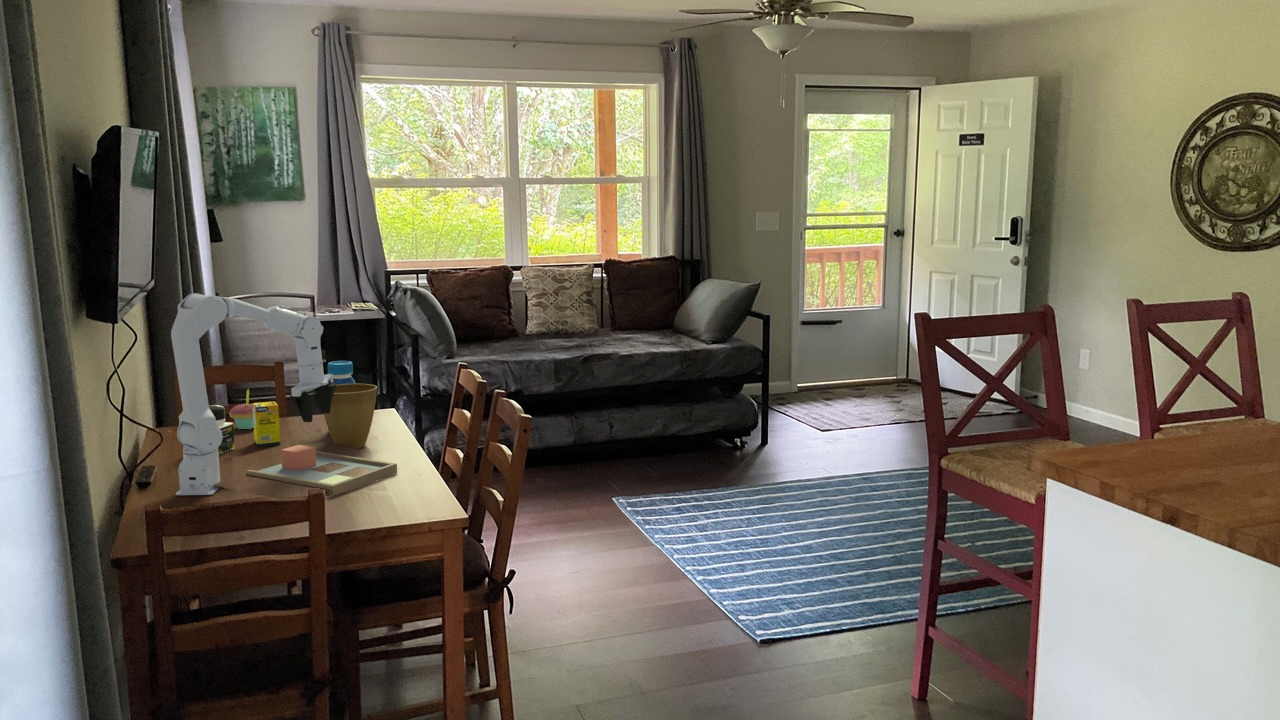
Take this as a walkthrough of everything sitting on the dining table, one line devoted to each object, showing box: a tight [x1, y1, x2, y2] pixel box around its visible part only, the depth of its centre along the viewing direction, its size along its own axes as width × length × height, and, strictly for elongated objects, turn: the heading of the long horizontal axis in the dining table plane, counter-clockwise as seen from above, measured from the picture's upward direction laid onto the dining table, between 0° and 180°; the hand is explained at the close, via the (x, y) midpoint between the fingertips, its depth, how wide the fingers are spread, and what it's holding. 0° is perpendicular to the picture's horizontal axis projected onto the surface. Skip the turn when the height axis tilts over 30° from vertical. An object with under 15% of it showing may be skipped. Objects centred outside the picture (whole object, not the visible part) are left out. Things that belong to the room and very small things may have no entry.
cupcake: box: [228, 387, 254, 430], centre depth 276 cm, size 9×8×12 cm
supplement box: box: [251, 401, 281, 447], centre depth 258 cm, size 6×6×11 cm
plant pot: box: [323, 383, 378, 450], centre depth 255 cm, size 15×15×16 cm
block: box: [280, 444, 317, 471], centre depth 230 cm, size 6×6×4 cm
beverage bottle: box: [327, 360, 357, 434], centre depth 271 cm, size 8×8×20 cm
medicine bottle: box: [209, 404, 236, 456], centre depth 249 cm, size 7×7×12 cm
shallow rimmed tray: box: [245, 450, 398, 497], centre depth 227 cm, size 27×21×2 cm
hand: (316, 417), depth 237 cm, fingers open, 7 cm apart
